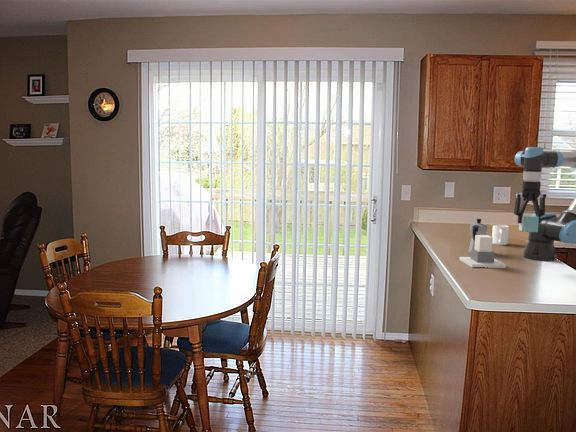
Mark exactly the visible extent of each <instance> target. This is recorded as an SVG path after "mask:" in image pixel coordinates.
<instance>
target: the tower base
mask: <svg viewBox="0 0 576 432" xmlns="http://www.w3.org/2000/svg"><path fill="white" fill-rule="evenodd" d="M495 254H496V252H494V251H493V250H492V252H479V251H477V250H475V249H471V252H470V256H459V261H460V262H462V263H464V264H466V265H467V266H468V267H470V268H472V267H485V268H484V269H486V268H487V267H488V268H489V269H490V268H491V269H493V268H494V269H495V268H497V269H506V268H507V264H505V263H504V262H502V261H500V260H497V259H496V258H495ZM488 268H487V269H488Z"/></svg>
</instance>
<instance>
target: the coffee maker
mask: <svg viewBox="0 0 576 432" xmlns="http://www.w3.org/2000/svg"><path fill="white" fill-rule="evenodd" d="M469 226H470V227H469V228H470V237H471V239H470V242H469V243H470V244H469V248H468V252H469V253H471V249H474V247H475V235H487V228H488V226H487V224H484V223H482V218H476V223H471V224H470V225H469Z"/></svg>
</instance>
